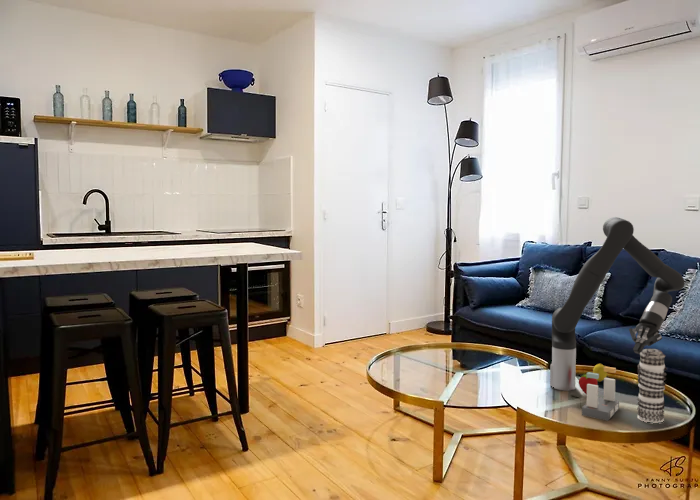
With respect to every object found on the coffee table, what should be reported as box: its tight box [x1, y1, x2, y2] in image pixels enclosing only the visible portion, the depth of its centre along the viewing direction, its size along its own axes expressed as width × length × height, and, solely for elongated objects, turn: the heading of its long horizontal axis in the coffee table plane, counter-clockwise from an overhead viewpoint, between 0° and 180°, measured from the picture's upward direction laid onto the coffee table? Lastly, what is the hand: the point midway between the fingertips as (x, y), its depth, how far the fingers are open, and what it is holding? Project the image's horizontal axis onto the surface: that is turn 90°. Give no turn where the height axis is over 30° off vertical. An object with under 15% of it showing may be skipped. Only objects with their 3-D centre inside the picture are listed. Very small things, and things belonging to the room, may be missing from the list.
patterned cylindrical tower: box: [636, 348, 667, 424], centre depth 201 cm, size 9×9×25 cm
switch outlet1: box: [586, 371, 599, 408], centre depth 205 cm, size 4×2×12 cm, turn 51°
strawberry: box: [578, 373, 599, 396], centre depth 226 cm, size 6×8×10 cm
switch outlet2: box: [603, 365, 617, 401], centre depth 212 cm, size 4×2×12 cm, turn 51°
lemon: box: [592, 363, 608, 383], centre depth 242 cm, size 6×6×8 cm
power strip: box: [581, 396, 620, 422], centre depth 211 cm, size 9×19×3 cm, turn 141°
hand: (636, 352), depth 220 cm, fingers closed
